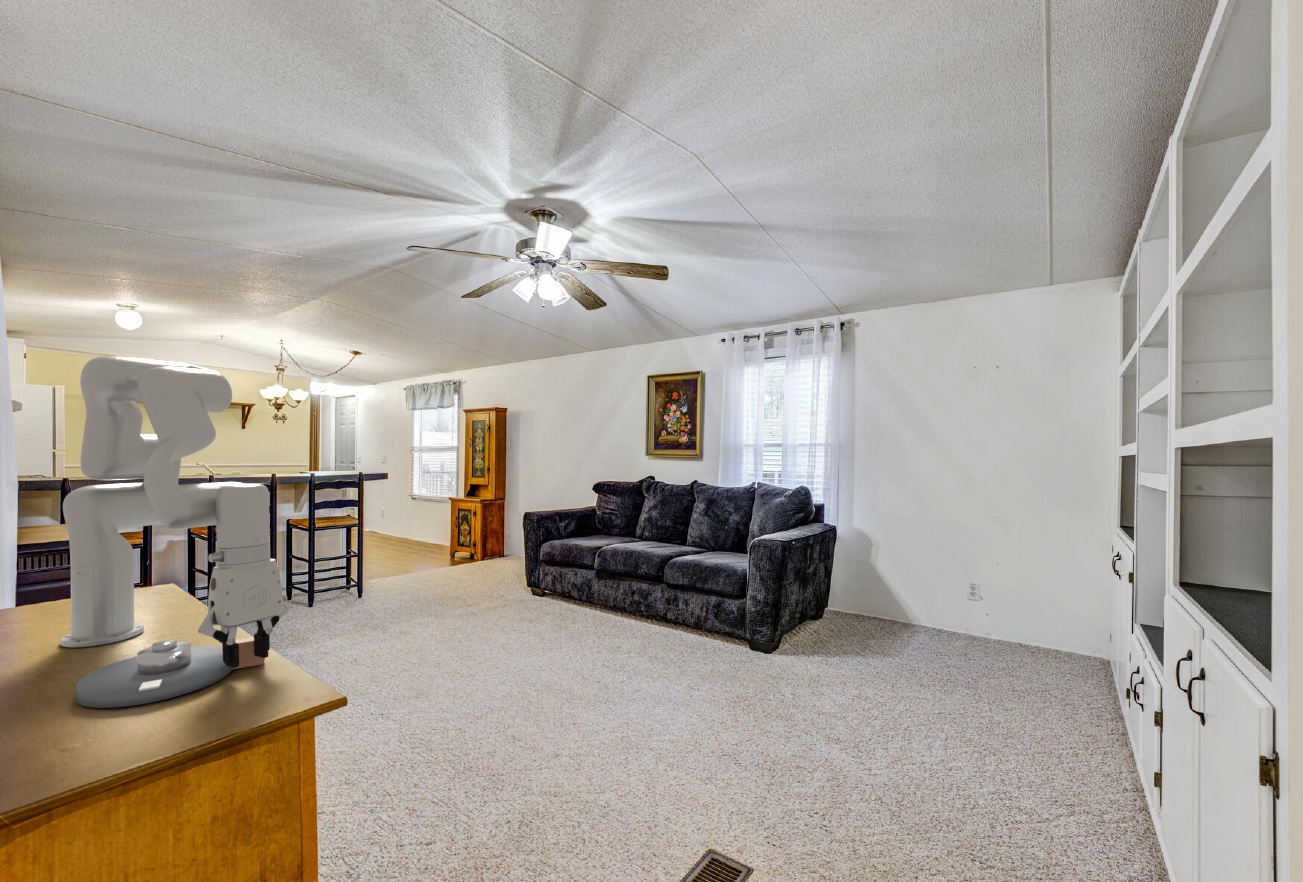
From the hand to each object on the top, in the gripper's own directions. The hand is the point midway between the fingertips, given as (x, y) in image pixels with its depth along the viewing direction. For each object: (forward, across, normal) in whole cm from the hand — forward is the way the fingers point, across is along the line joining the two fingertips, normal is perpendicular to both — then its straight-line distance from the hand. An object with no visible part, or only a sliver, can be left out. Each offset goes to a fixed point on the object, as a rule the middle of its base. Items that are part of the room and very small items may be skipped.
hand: (247, 660), depth 101 cm
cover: (0, -8, +9) cm, 12 cm away
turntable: (+2, -7, +8) cm, 11 cm away
